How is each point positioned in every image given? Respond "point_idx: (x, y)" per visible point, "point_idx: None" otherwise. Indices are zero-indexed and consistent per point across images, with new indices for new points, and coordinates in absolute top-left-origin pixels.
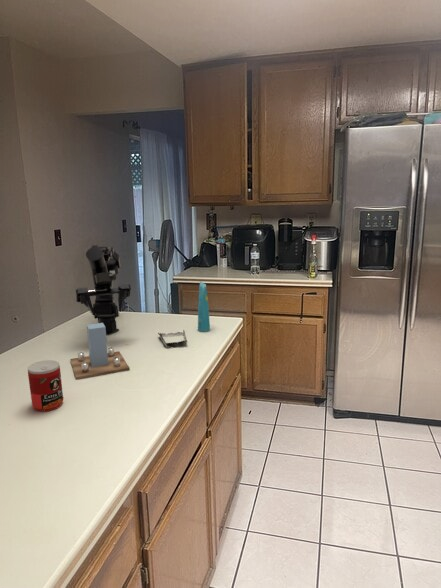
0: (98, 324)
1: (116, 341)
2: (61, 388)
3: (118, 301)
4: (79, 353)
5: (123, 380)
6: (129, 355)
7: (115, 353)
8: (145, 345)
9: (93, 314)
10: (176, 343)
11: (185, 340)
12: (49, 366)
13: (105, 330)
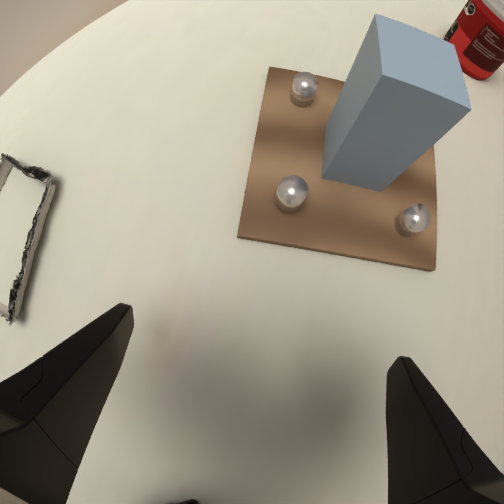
0: (410, 65)
1: (188, 404)
2: (456, 20)
3: (72, 472)
4: (425, 219)
5: (308, 35)
6: (209, 188)
7: (263, 215)
8: (99, 264)
9: (401, 357)
10: (25, 171)
11: (3, 154)
12: (494, 2)
13: (370, 27)
